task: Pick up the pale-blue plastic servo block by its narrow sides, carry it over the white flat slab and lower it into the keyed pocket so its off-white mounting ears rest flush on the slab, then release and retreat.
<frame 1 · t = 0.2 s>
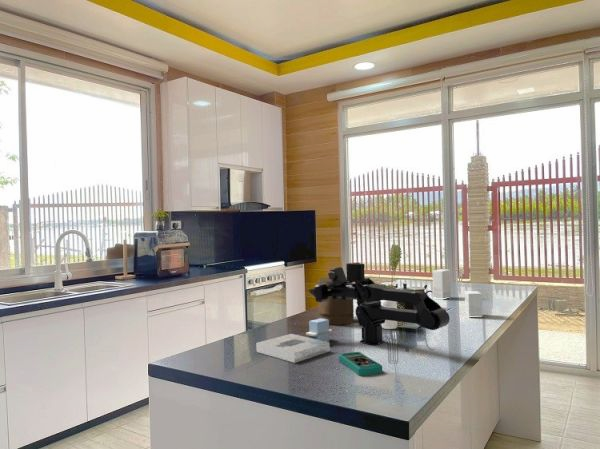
hand: (317, 289, 174), 16 cm above the counter, tool horizontal, fingers open, 9 cm apart
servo: (319, 341, 159), on the counter
can: (389, 328, 177), on the counter
white flat slab: (292, 351, 147), on the counter
small box: (473, 316, 195), on the counter
digital multimeter: (359, 369, 130), on the counter
skincare box: (442, 299, 241), on the counter
wooden container: (336, 321, 191), on the counter
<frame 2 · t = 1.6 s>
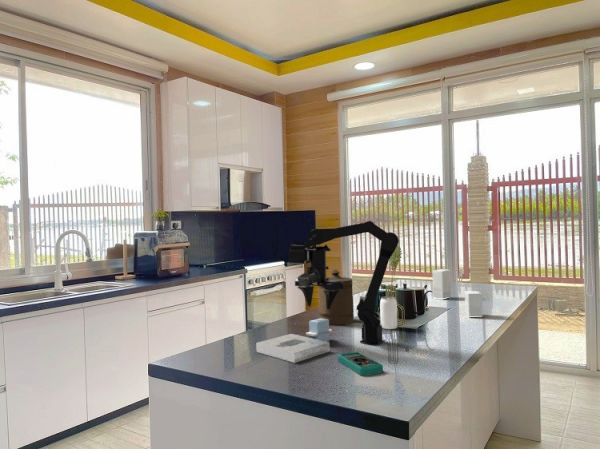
hand: (318, 307, 159), 12 cm above the counter, tool pointing down, fingers open, 9 cm apart
nothing on the counter moved.
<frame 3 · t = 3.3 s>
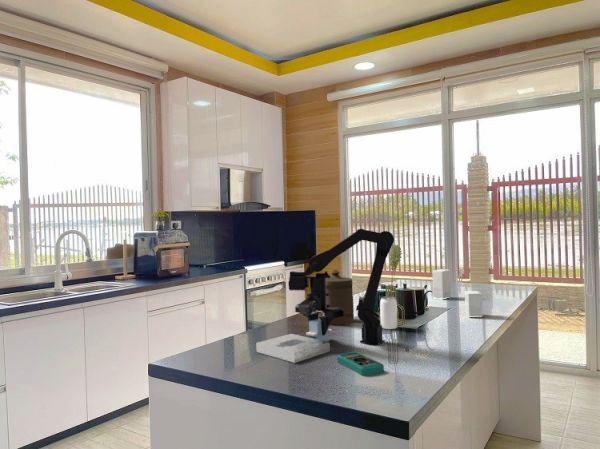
hand: (319, 334, 159), 3 cm above the counter, tool pointing down, fingers closed on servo, 4 cm apart
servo: (319, 341, 159), on the counter, touching gripper
everything else where it was.
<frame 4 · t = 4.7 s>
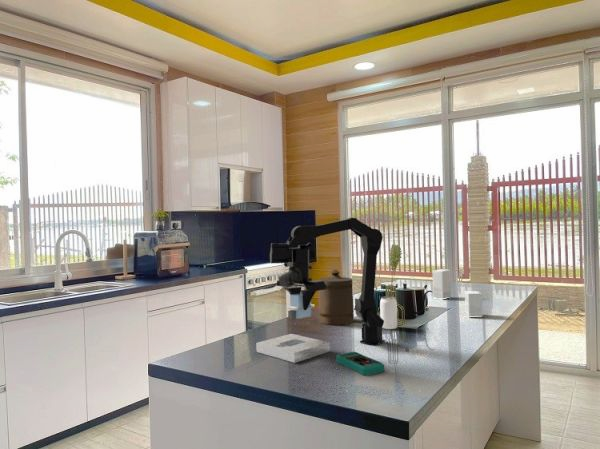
hand: (300, 309, 151), 13 cm above the counter, tool pointing down, fingers closed on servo, 4 cm apart
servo: (300, 316, 151), point 11 cm above the counter, touching gripper
everything else where it was.
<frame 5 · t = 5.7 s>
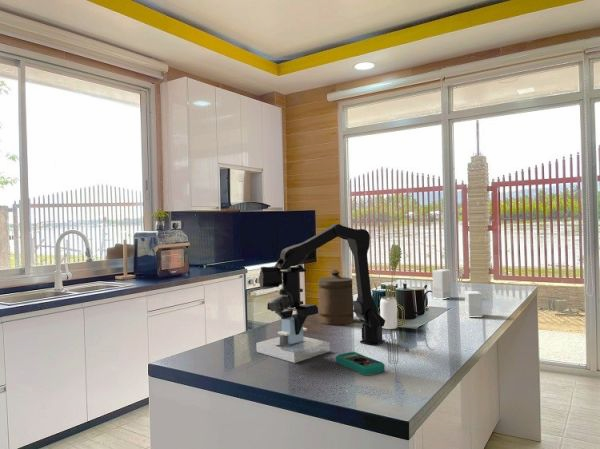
hand: (292, 333, 147), 6 cm above the counter, tool pointing down, fingers closed on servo, 4 cm apart
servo: (292, 341, 147), point 3 cm above the counter, touching gripper
everything else where it was.
when the fingers open (4 cm above the counter, at t = 6.4 s): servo drops 1 cm, resting on white flat slab.
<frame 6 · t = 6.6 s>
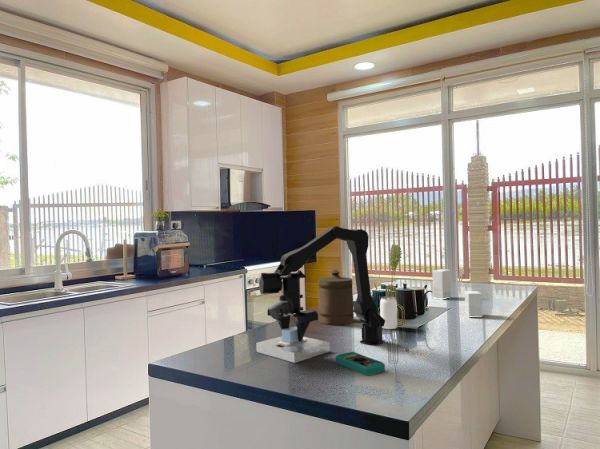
hand: (292, 339, 147), 4 cm above the counter, tool pointing down, fingers open, 6 cm apart
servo: (292, 351, 147), resting on white flat slab
everything else where it was.
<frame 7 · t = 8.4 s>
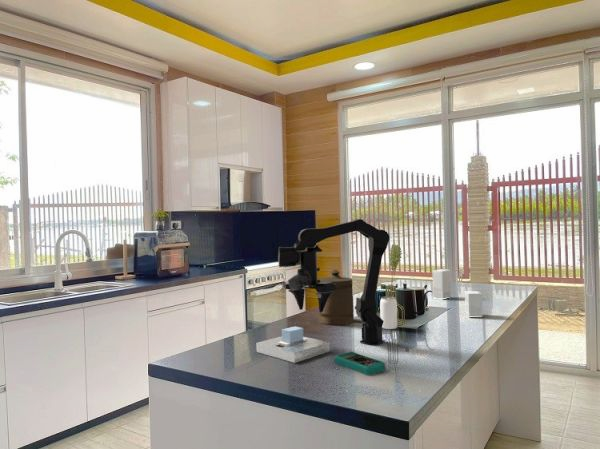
hand: (310, 310, 153), 12 cm above the counter, tool pointing down, fingers open, 9 cm apart
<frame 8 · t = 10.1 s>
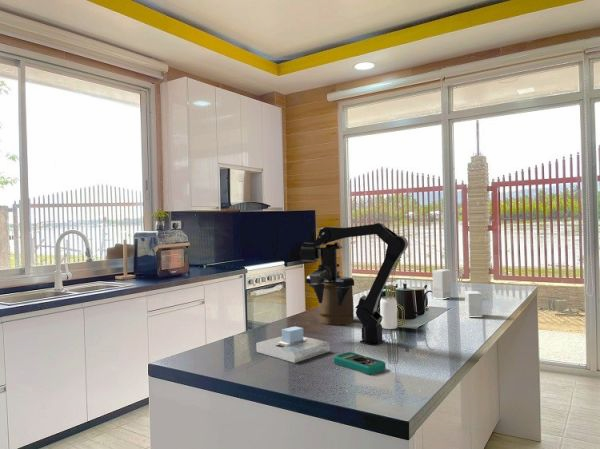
hand: (329, 304, 162), 13 cm above the counter, tool pointing down, fingers open, 9 cm apart
at the end: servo 0.0 cm off-centre on the white flat slab, point 0.0 cm above the white flat slab's base; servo tilted 0°; the gripper is holding nothing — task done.
